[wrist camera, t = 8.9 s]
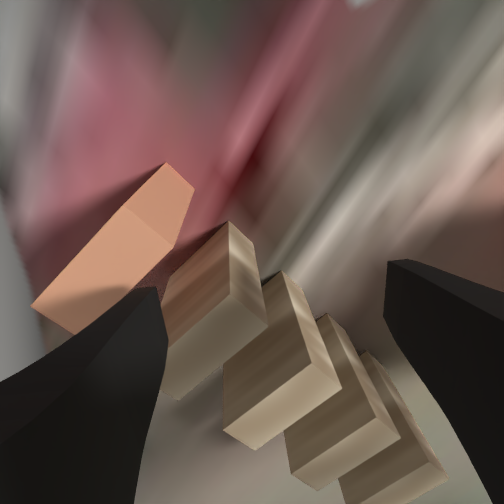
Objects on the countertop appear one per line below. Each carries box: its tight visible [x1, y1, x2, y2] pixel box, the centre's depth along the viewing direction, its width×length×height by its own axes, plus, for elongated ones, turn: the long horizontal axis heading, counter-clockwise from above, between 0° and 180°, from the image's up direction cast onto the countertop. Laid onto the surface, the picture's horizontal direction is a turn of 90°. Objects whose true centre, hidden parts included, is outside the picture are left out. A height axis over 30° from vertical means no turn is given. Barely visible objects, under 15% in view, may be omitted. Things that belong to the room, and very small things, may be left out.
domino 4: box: [283, 314, 401, 491], centre depth 19 cm, size 2×5×8 cm, turn 134°
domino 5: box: [338, 351, 449, 504], centre depth 21 cm, size 2×5×8 cm, turn 134°
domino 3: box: [223, 270, 342, 451], centre depth 18 cm, size 2×5×8 cm, turn 134°
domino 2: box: [160, 221, 269, 401], centre depth 16 cm, size 2×5×8 cm, turn 134°
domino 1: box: [30, 163, 195, 335], centre depth 15 cm, size 2×5×8 cm, turn 134°
